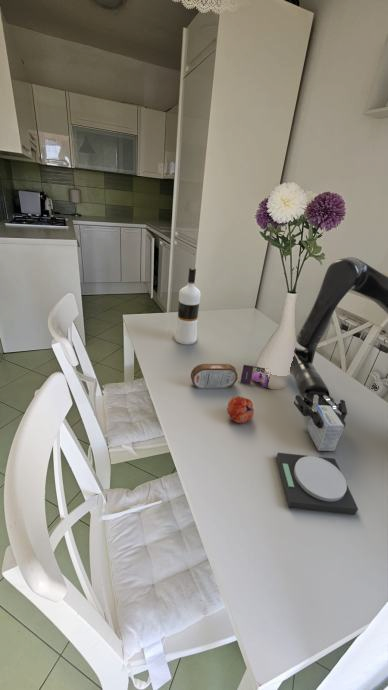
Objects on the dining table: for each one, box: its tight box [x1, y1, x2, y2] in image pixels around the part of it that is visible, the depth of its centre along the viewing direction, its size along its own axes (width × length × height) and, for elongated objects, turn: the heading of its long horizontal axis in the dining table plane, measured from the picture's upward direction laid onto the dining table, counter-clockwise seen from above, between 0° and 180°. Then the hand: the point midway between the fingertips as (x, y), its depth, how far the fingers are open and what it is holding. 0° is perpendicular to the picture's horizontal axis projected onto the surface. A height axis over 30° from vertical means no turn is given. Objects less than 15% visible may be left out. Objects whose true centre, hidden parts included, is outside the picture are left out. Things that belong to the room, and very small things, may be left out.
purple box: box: [240, 364, 270, 389], centre depth 102 cm, size 7×5×9 cm
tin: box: [190, 363, 239, 389], centre depth 97 cm, size 15×3×8 cm, turn 100°
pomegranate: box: [226, 396, 255, 424], centre depth 85 cm, size 7×7×10 cm
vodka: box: [173, 267, 202, 345], centre depth 119 cm, size 9×9×30 cm
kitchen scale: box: [275, 452, 359, 516], centre depth 68 cm, size 14×13×4 cm
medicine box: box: [306, 405, 345, 452], centre depth 79 cm, size 8×4×9 cm, turn 3°
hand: (331, 426), depth 75 cm, fingers closed on medicine box, 4 cm apart
